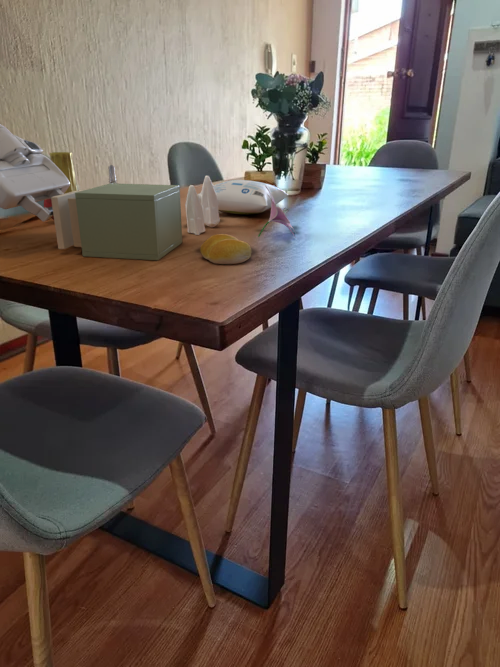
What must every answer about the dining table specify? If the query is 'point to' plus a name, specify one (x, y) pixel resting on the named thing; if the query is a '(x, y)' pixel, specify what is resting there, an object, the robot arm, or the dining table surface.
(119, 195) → the cabinet
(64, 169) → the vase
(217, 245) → the bread roll
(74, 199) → the drawer
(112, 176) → the screw
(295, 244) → the dining table surface
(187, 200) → the shaker set
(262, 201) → the pouch
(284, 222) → the lily
